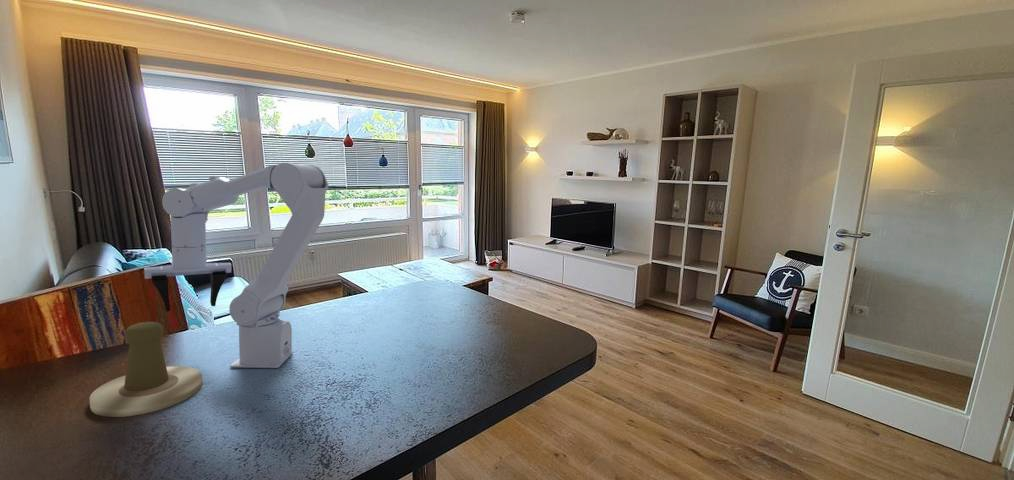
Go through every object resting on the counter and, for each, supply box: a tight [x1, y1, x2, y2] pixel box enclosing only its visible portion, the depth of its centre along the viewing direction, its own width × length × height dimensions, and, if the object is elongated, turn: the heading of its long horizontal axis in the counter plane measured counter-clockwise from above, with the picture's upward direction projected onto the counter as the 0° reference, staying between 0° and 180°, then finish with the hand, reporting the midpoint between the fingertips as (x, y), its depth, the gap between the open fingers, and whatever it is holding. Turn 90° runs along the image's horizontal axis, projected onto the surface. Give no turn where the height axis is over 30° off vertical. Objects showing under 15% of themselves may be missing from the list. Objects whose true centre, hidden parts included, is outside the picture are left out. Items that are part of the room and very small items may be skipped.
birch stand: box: [88, 365, 203, 418], centre depth 72 cm, size 15×15×2 cm
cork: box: [124, 321, 169, 391], centre depth 72 cm, size 6×6×11 cm
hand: (191, 307), depth 87 cm, fingers open, 7 cm apart
